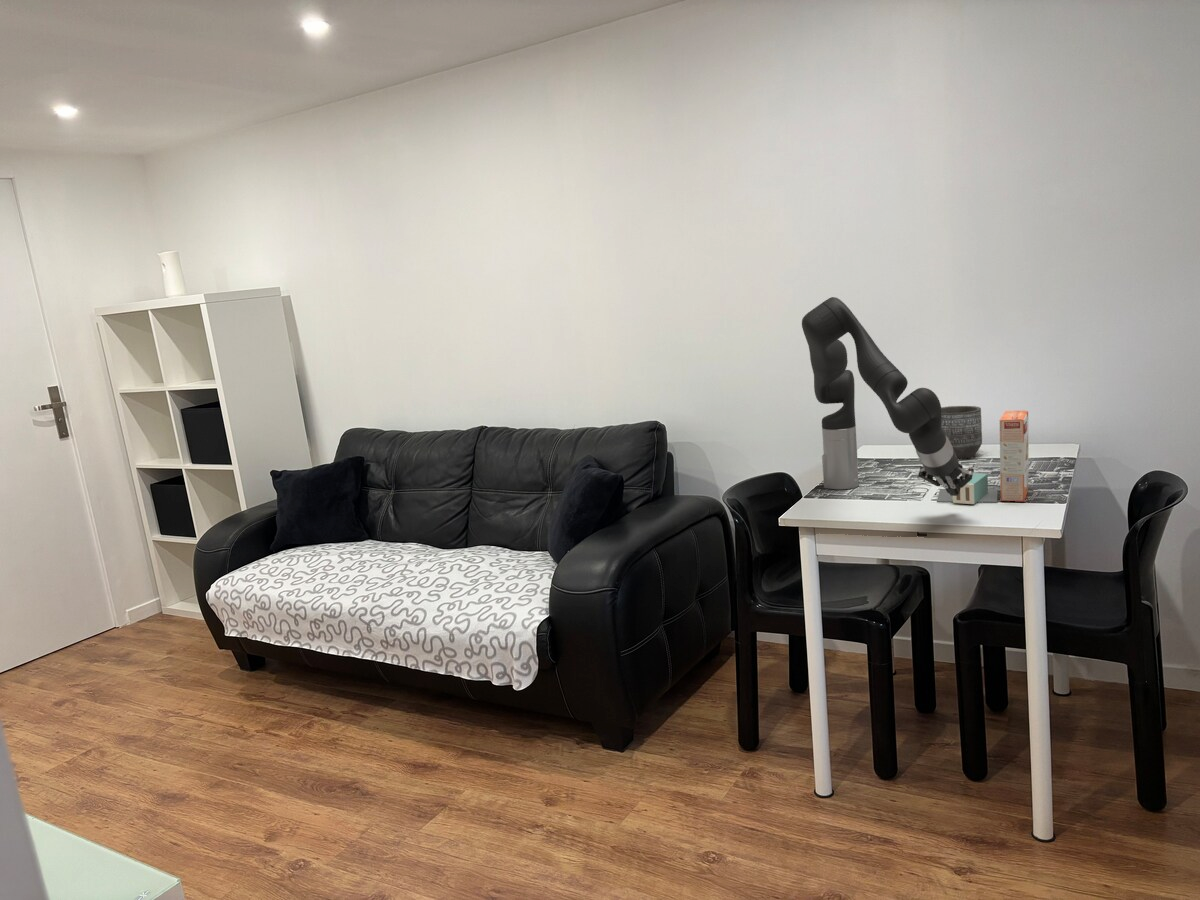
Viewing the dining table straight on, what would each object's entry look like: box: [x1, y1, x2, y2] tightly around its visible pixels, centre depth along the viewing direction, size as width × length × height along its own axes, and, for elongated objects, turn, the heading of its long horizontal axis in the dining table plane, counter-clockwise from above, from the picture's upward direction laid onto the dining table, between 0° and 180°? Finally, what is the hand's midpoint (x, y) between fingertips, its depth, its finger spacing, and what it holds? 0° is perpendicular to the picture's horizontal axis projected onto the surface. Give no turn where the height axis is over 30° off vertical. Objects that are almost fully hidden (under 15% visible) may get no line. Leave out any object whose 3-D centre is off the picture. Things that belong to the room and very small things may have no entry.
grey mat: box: [936, 488, 999, 504], centre depth 224 cm, size 14×13×1 cm
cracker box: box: [999, 410, 1029, 503], centre depth 219 cm, size 14×6×21 cm, turn 151°
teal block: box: [952, 472, 989, 505], centre depth 221 cm, size 5×5×12 cm
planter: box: [941, 405, 983, 460], centre depth 270 cm, size 14×14×15 cm
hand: (955, 492), depth 209 cm, fingers closed
